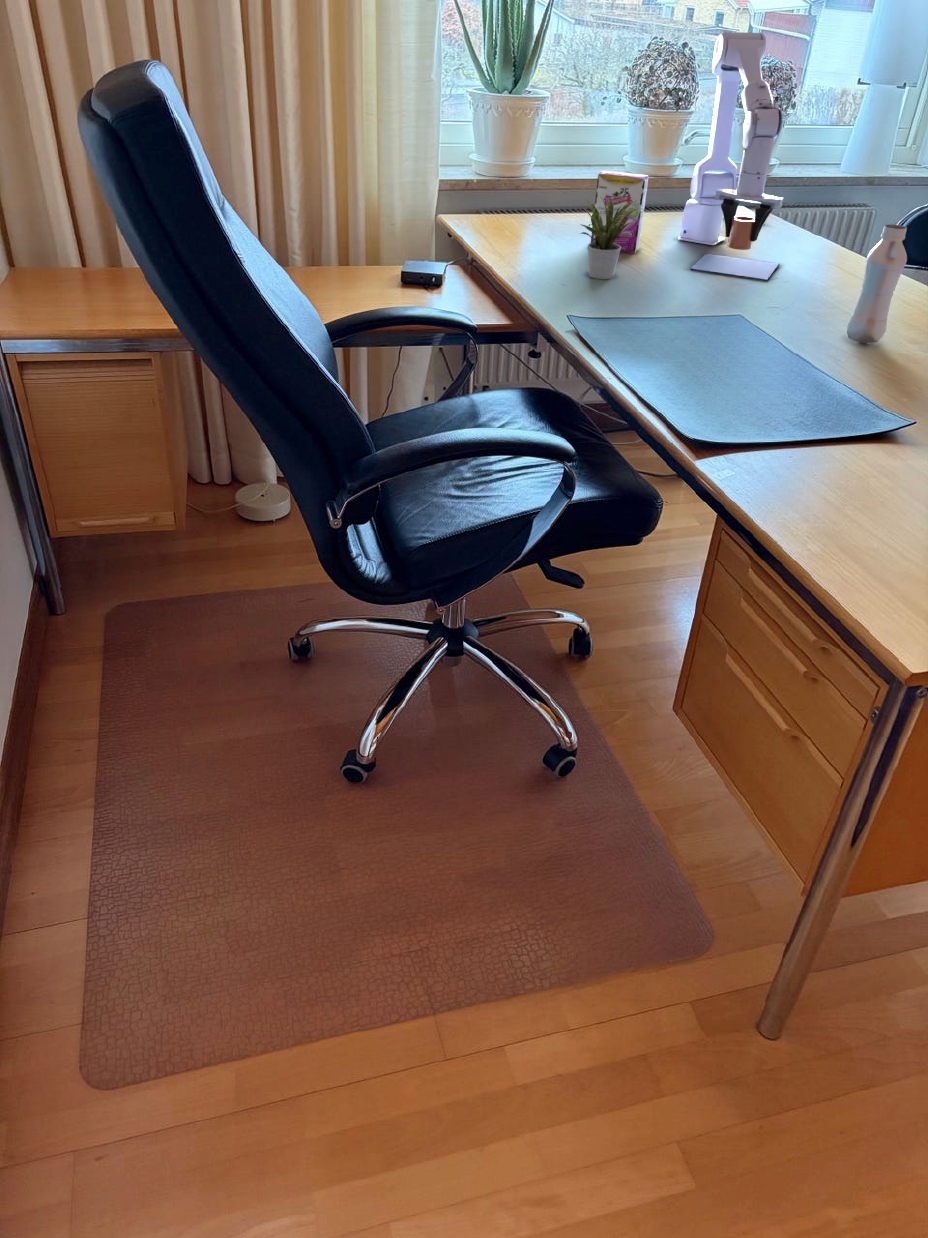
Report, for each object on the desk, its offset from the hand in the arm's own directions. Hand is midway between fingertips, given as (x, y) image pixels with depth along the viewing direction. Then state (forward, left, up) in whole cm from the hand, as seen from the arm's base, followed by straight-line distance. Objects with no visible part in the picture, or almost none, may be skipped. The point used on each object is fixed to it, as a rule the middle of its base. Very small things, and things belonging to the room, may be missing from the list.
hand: (740, 238), depth 205 cm
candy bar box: (-29, -3, -6) cm, 30 cm away
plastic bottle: (+37, -34, -6) cm, 51 cm away
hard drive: (-17, +50, -6) cm, 53 cm away
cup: (0, 0, -2) cm, 2 cm away
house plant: (-20, -25, -6) cm, 33 cm away
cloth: (0, 0, -6) cm, 6 cm away
